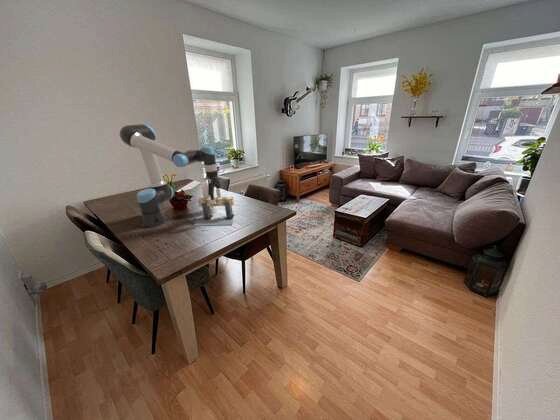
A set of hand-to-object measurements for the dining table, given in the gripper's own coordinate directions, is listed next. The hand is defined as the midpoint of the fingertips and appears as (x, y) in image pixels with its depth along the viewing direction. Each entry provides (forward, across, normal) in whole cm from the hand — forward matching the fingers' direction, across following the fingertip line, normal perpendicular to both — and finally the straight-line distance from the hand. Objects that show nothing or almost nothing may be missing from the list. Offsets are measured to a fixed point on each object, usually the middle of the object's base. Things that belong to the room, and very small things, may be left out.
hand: (216, 200), depth 155 cm
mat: (+14, -9, +2) cm, 16 cm away
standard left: (+13, 0, +8) cm, 16 cm away
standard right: (+14, 0, -8) cm, 16 cm away
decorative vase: (+14, +12, +10) cm, 20 cm away
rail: (+3, 0, 0) cm, 3 cm away
